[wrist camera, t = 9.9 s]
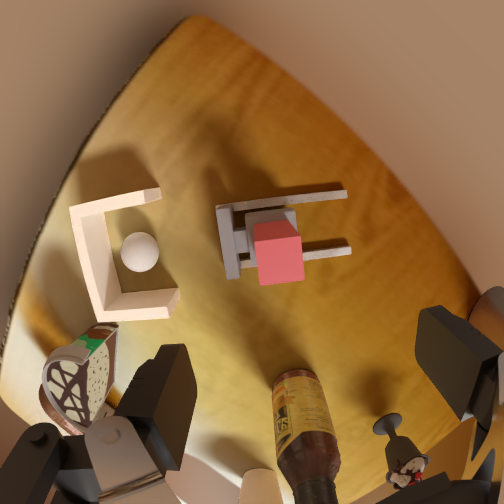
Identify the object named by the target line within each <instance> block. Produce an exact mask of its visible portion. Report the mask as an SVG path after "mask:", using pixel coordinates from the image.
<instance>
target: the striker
mask: <svg viewBox="0 0 504 504" xmlns="http://www.w3.org/2000/svg"><path fill="white" fill-rule="evenodd" d="M216 216H217V222H218V229H219V235H220V241H221V248H222V254H223V260H224V266H225V272H226V278H227V280H229V279H237V278H240V273H241V266H240V259H239V253H245V252H250V258H251V265H252V266H253V265H257V266H258V274H259V281H260V286H262V285H270V284H277V283H285V282H292V281H300V280H305V277H304V266H303V255H302V244H301V236H300V234H299V233H298V232H297V223H296V214H295V210H294V209H292V208H283V209H275V210H267V211H259V212H251V213H245V223H246V227H239V228H235V225H234V218H233V211H232V205H226V206H219V207H218V208H217V209H216Z"/></svg>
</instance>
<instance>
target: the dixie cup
mask: <svg viewBox="0 0 504 504" xmlns="http://www.w3.org/2000/svg"><path fill="white" fill-rule="evenodd" d="M238 504H283V500H282V496H281V492H280V487H279V483H278V479H277V475H276V473H275V472H274V471H272V470H270V469H265V468H257V469H252V470H249V471H247V472H245V473H244V475H243V480H242V485H241V490H240V495H239V500H238Z"/></svg>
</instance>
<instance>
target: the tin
mask: <svg viewBox="0 0 504 504" xmlns="http://www.w3.org/2000/svg"><path fill="white" fill-rule="evenodd" d="M39 400H40V403H41V405H42V408H43V409H44V411H45V412H46V414H47V415H48V416H49V417H50V418H51V419H52V420H53V421H54V422H55V423H57V424H58V425H59V426H60V427H61V428H63V429H64V430H65V431H66V432H67V433H69V434H70V435H71V436H72V435H83V434H85V432H83V431H81V430H79V429H77V428H76V427H74V426H73V425H72V424H70V423H69V422H68V421H66V420H65V419H64V418H63V417H62V416H61V415H60V414H59V413H58V412H57V411H56V409H55V408H54V407H53V405H52V404H51V403H50V401H49V399H48V397H47V396H46V393H45V391H44V388H43V384H41V386H40V389H39ZM115 410H116V409H114V408H113V407H112V406H111V405H109V404H108V403H107V402H106V401H104V403H103V405H102V407H101V408H100V410H99V412H98V414H97V416H96V418H95V420H94V422H95V421H97V420H99V419H101V418H104V417H107V416H113V414H114V412H115ZM94 422H93V423H94Z"/></svg>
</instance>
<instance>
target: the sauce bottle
mask: <svg viewBox="0 0 504 504" xmlns="http://www.w3.org/2000/svg"><path fill="white" fill-rule="evenodd" d="M272 405H273V418H274V430H275V443H276V456H277V465H278V467H279V469H280V470H281V472H282V474H283V475H284V477H285V479H286V480H287V482H288V483H289V485H290V487H291V489H292V491H293V496H294V499H295V504H338V500H337V496H336V491H335V488H336V486H335V483H334V482H333V481H334V479H335V477H336V474H337V473H338V472H339V468H340V464H341V460H340V453H339V450H338V447H337V439H336V435H335V431H334V427H333V424H332V421H331V417H330V413H329V410H328V406H327V403H326V399H325V396H324V392H323V389H322V386H321V385H320V382H319V380H318V378H317V377H316V376H315V375H314V374H313V373H312V372H310V371H307V370H302V369H297V370H290V371H287V372H285V373H283V374H282V375H280V376H279V377H278V378H277V380H276V381H275V383H274V385H273V390H272Z"/></svg>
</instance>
